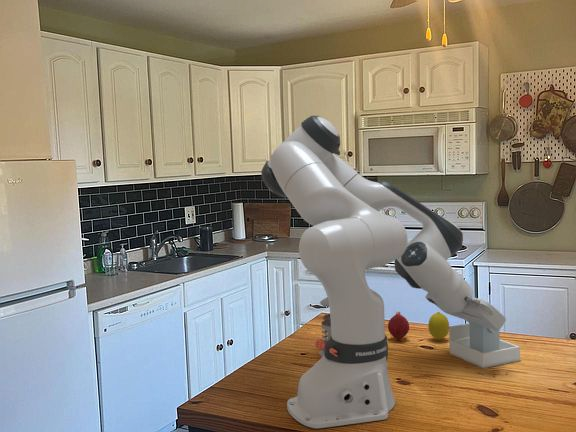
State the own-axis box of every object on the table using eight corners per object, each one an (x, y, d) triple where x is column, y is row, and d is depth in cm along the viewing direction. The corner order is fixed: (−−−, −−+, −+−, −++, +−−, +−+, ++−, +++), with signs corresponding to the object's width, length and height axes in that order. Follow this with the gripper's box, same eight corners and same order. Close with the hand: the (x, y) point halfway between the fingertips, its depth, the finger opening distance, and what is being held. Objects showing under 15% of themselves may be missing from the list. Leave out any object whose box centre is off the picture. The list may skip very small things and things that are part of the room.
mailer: (483, 368, 140) (482, 339, 139) (449, 353, 152) (449, 326, 151) (520, 360, 144) (519, 332, 143) (484, 346, 156) (484, 320, 155)
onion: (411, 342, 162) (410, 314, 161) (390, 343, 162) (389, 314, 161) (407, 336, 167) (406, 308, 167) (387, 337, 167) (386, 309, 167)
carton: (483, 353, 144) (482, 313, 143) (469, 348, 149) (468, 309, 148) (499, 350, 146) (499, 310, 145) (485, 345, 151) (485, 306, 150)
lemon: (452, 339, 163) (451, 310, 162) (445, 344, 159) (445, 315, 158) (432, 336, 166) (431, 308, 165) (425, 342, 161) (425, 313, 161)
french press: (353, 345, 161) (350, 255, 159) (359, 360, 150) (356, 262, 147) (317, 347, 161) (313, 257, 158) (321, 362, 149) (317, 264, 147)
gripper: (490, 291, 134) (524, 328, 138) (435, 277, 152) (466, 309, 157) (475, 314, 132) (509, 349, 137) (421, 296, 151) (453, 328, 156)
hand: (486, 328), depth 147 cm, fingers closed on carton, 5 cm apart
